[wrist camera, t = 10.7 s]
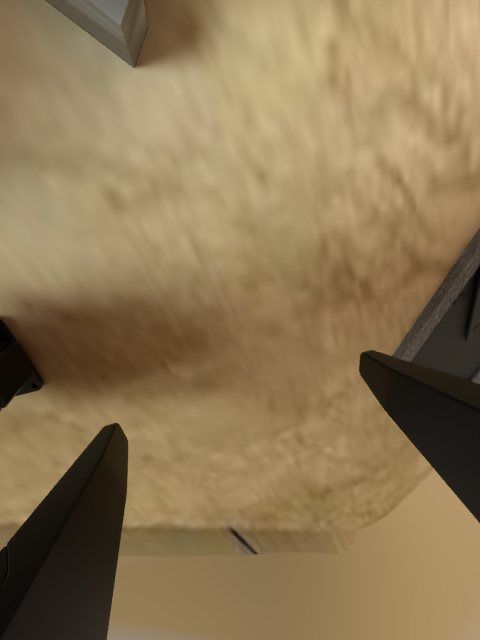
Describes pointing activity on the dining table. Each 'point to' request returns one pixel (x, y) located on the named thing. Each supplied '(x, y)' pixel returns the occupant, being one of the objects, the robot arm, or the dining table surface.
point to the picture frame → (450, 322)
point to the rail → (110, 23)
